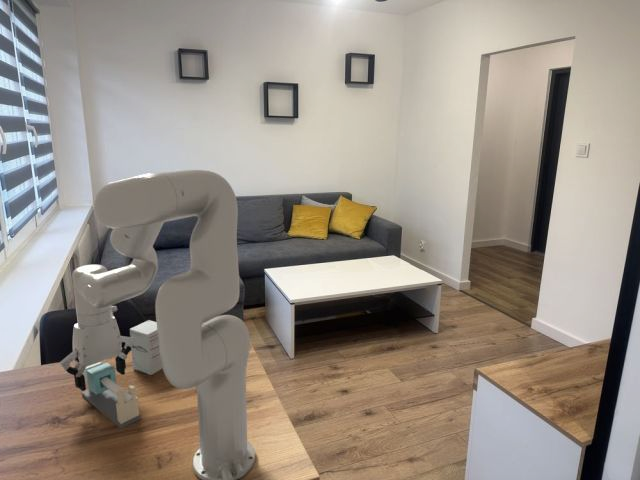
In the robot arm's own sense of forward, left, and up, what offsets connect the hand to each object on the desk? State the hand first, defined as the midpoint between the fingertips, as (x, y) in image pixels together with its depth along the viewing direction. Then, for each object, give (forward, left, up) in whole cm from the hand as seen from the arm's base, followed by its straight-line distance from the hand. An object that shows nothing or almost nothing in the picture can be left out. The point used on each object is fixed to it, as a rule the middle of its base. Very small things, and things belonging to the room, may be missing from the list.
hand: (101, 380), depth 109 cm
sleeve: (0, 0, -2) cm, 2 cm away
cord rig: (-3, -1, -6) cm, 7 cm away
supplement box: (+13, -12, -6) cm, 19 cm away
